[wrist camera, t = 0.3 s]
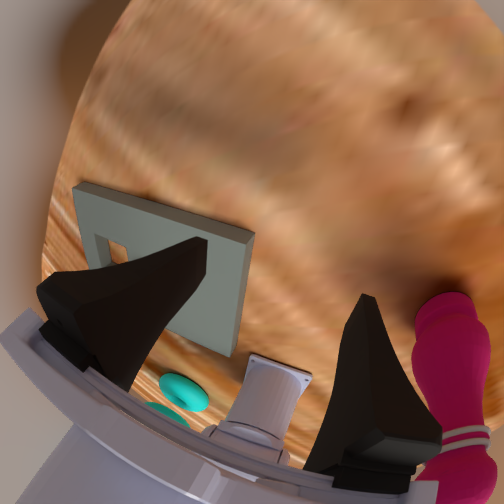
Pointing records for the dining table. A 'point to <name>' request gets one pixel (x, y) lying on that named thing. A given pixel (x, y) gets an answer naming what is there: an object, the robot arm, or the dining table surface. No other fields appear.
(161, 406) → the donuts
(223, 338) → the plate
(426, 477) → the pepper mill
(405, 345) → the dining table surface
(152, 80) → the dining table surface
